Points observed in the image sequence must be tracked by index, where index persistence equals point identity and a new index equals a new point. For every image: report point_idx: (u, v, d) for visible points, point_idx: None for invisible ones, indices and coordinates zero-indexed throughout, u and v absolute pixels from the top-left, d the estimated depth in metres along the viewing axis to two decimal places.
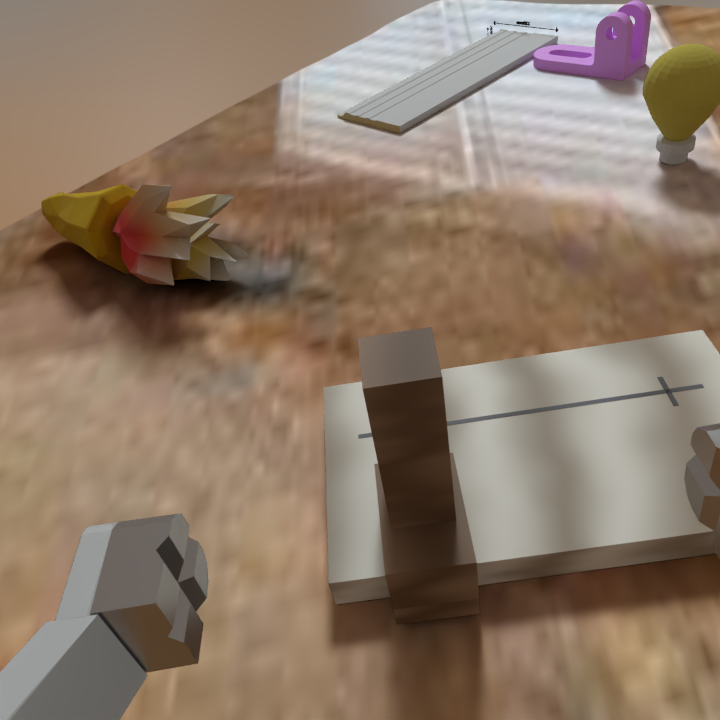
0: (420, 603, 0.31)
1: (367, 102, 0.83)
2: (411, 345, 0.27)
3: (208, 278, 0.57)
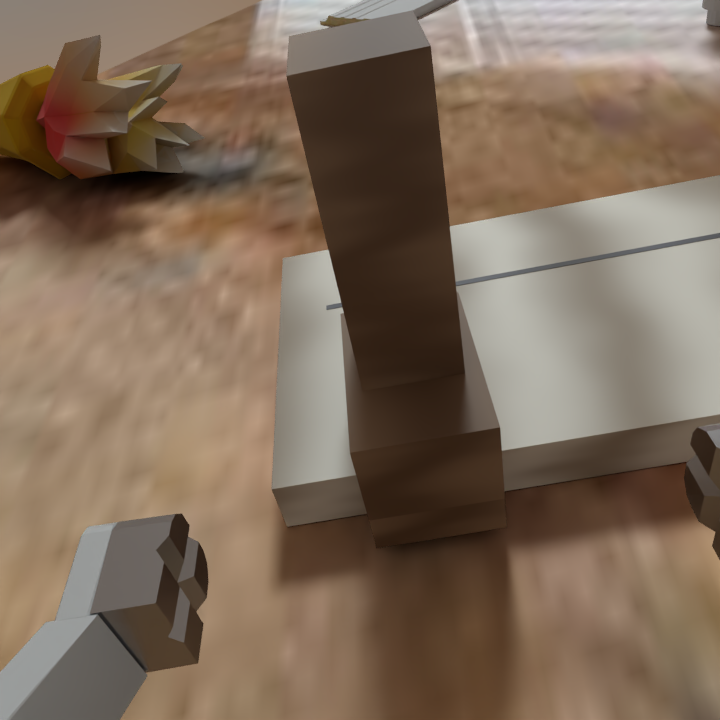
0: (411, 509, 0.20)
1: (354, 5, 0.72)
2: (378, 28, 0.15)
3: (154, 166, 0.46)
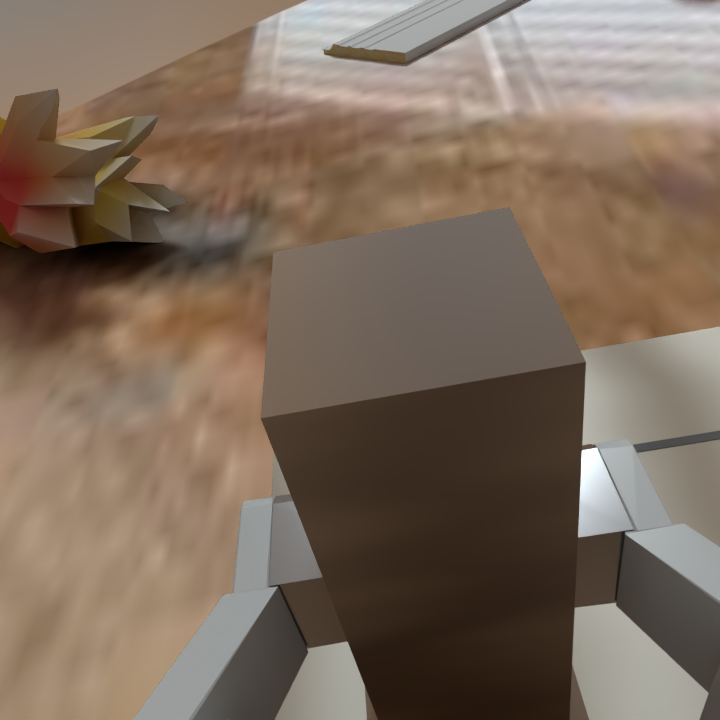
0: None
1: (362, 32, 0.64)
2: (450, 259, 0.08)
3: (128, 237, 0.39)
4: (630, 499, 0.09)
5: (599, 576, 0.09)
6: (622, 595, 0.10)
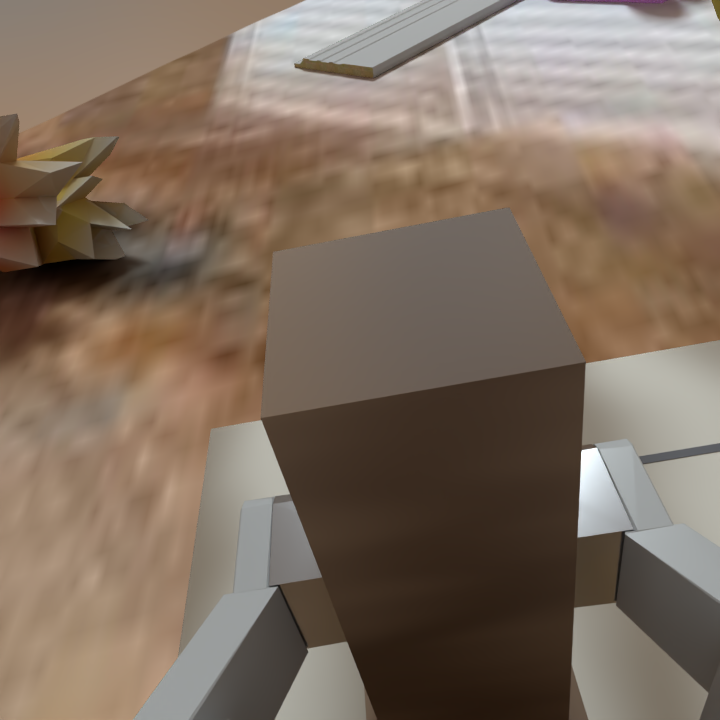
0: None
1: (332, 46, 0.64)
2: (449, 259, 0.08)
3: (91, 255, 0.40)
4: (630, 499, 0.09)
5: (599, 576, 0.09)
6: (622, 595, 0.10)
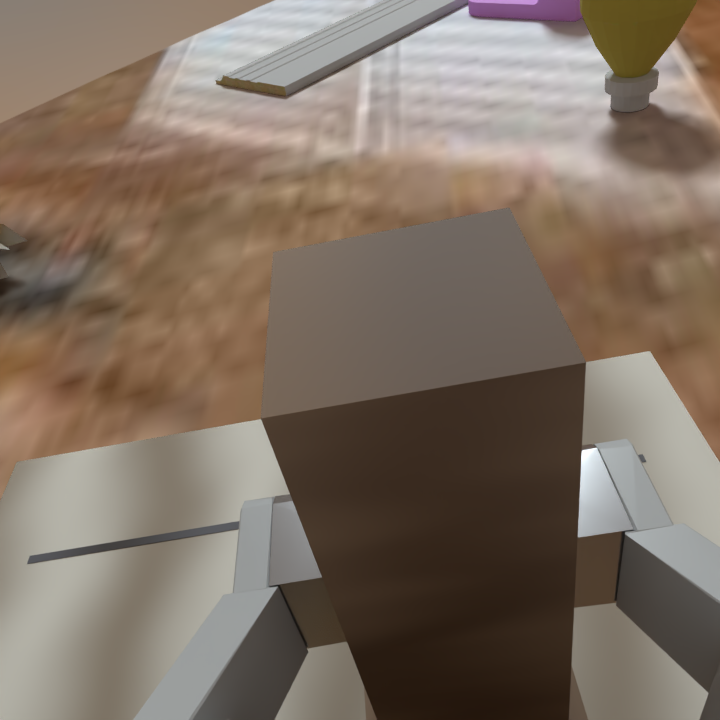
0: None
1: (253, 63, 0.65)
2: (450, 259, 0.08)
3: None
4: (630, 499, 0.09)
5: (599, 576, 0.09)
6: (622, 595, 0.10)
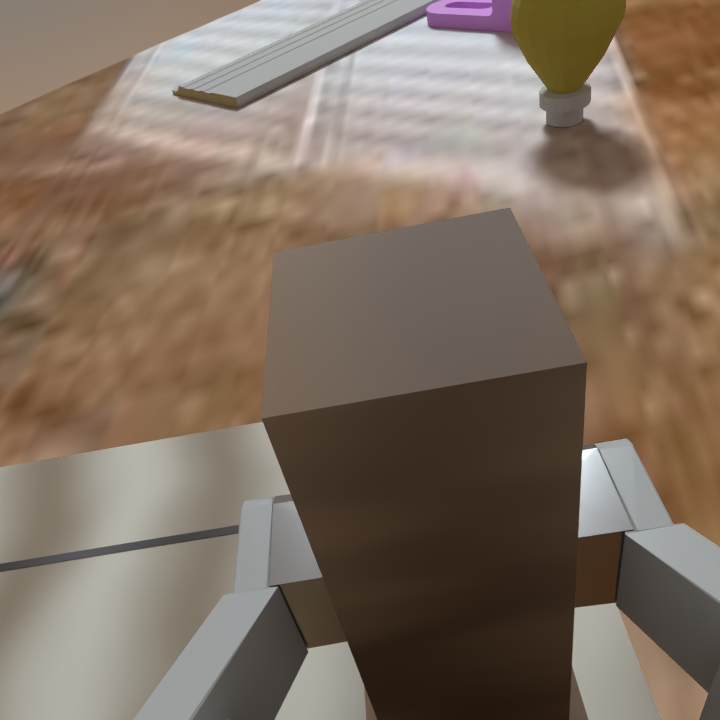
0: None
1: (209, 73, 0.65)
2: (450, 260, 0.08)
3: None
4: (630, 499, 0.09)
5: (599, 576, 0.09)
6: (622, 595, 0.10)
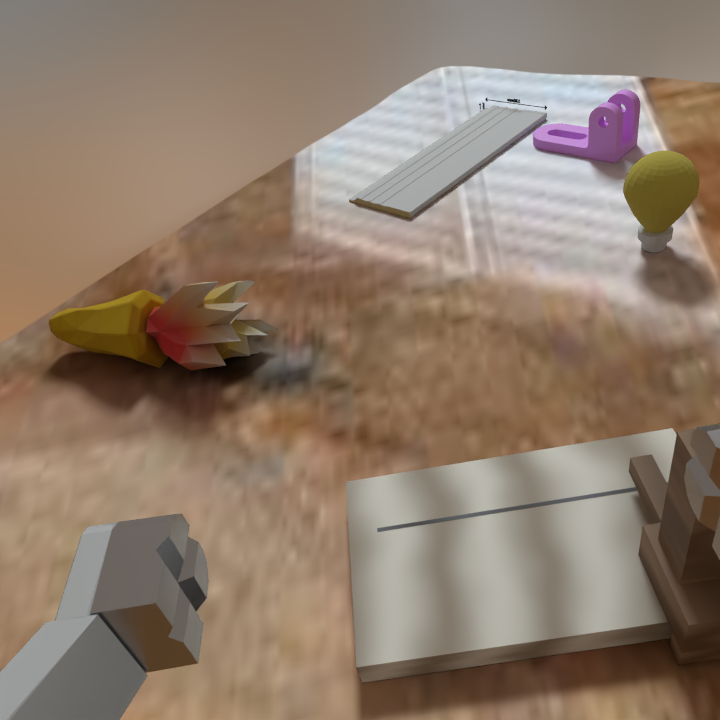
0: (706, 647, 0.37)
1: (376, 186, 0.89)
2: None
3: (248, 353, 0.66)
4: None
5: None
6: None
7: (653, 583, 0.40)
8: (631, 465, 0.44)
